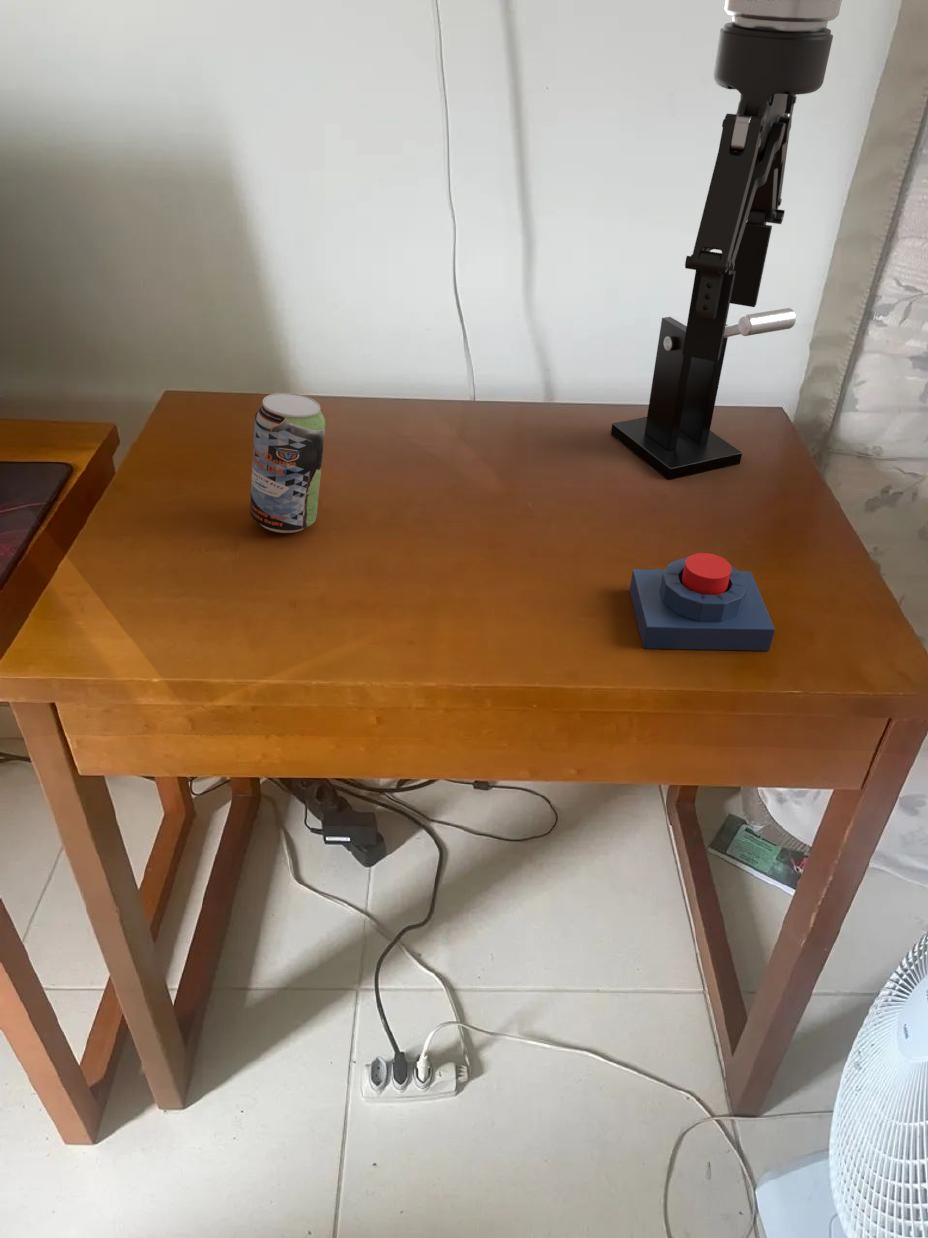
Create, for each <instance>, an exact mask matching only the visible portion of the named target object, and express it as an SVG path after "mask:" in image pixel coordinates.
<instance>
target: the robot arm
mask: <svg viewBox="0 0 928 1238" xmlns="http://www.w3.org/2000/svg"><path fill="white" fill-rule="evenodd" d="M842 1H843V0H725V2H724V7H723V9H724V11H725V12H726V14H727V15H728V16H732V17H731V22H726V23H724V24H723V27H721V28H720V29H719V35H718V41H717V48H716V54H715V60H714V67H713V75H712V77H713V81H714V82H715V84H716V85H717V86H719V87H721V88H723V89H726V90H736V91H737V92H738V93H739V94H740V96H739V98H740V100H739V102H738V105H737V109H736V112H735V113H726V114H725V116H724V119H723V120H722V124H721V127H722V129H721V135H720V141H719V146H718V152H717V155H716V159H715V163H714V166H713V170H712V175H711V178H710V183H709V187H708V191H707V195H706V199H705V203H704V206H703V211H702V214H701V220H700V223H699V227H698V231H697V235H696V240H695V242H694V247H693V251H692V254H690V255H686V257H685V262H684V268H685V269H687V270H694V271H695V272H694V279H693V286H692V292H691V297H690V304H689V311H688V316H687V321H686V322H687V323H686V326H687V327H686V334H685V340H684V346H683V352H682V355H683V356H689V357H694V358H699V359H705V360H710V361H715V362H717V361H718V360H719V358H720V353H721V348H722V342H723V337H724V332H725V326H726V324H727V320H728V315H729V311H730V305H731V304H732V305H738V306H744V307H749V308H755V307H756V305H757V303H758V297H759V294H760V288H761V283H762V278H763V273H764V268H765V263H766V258H767V254H768V250H769V249H768V248H769V244H770V238H771V234H772V229H773V225H770V224H775V225H782V223H783V221H784V216H785V211H786V210H784V209H779V207H780V206H781V205H782V200H783V199H782V193H783V183H784V178H785V177H784V176H785V171H786V161H787V154H788V145H789V137H790V131H791V129H792V120H793V118H792V117H793V112H794V109H795V108H794V107H795V104H796V102H797V98H798V97H797V96H798V95H806V94H807V95H808V94H811V93H815V92H817V91H818V90H819V89H820V88H822V86H823V84H824V81H825V77H826V71H827V67H828V62H829V57H830V54H831V53H830V52H831V48H832V44H833V39H834V35H833V34H832V30H831V29H829V28H828V22H831V21H834V20H835V19H836V18H837V17H838V16H840V11H841V7H842ZM767 223H768V224H767ZM712 250H717V251H721V252H716V251H712Z"/></svg>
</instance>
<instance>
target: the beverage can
mask: <svg viewBox="0 0 928 1238" xmlns="http://www.w3.org/2000/svg"><path fill="white" fill-rule="evenodd" d="M325 433H326V419H325V416H324V414H323V413H322V411H321V405H320V403H319V402H318V401H317V400H315V399H313V398H311V397H309V396H306V395H303V394H299V393H293V392H292V393H291V392H277V393H271V394H269V395H266V396H264V398H263V399H262V404H261V405H260V406H259V407H258V408H257V410H256V412H255V414H254V425H253V444H252V462H251V463H252V464H251V479H250V480H251V483H250V484H251V485H250V499H249V500H250V501H249V514H250V516H251V517H250V518H252V519H253V520H254V521H255V522H256V523H258V524H259V525H260V526H261V527H263V528H264V529H266V530H268V531H271V532H273V533H274V532H275V533H280V534H281V533H282V534H292V533H297V532H300V531H303V530H305V529H306V528H308V527H311V526H312V525H313V524H315V522H316V520H317V517H318V507H319V496H320V485H321V475H322V466H323V465H322V463H323V454H324V444H325Z"/></svg>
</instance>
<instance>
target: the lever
mask: <svg viewBox="0 0 928 1238" xmlns="http://www.w3.org/2000/svg"><path fill="white" fill-rule="evenodd" d="M796 320H797V318H796V312H795V311H794V310H793V308H791V307H786V308H785V307H784V308H780V309H772V310H766V311H761V312H754V313H748V314H743V315H741V316H740V317H739V319H738V321H737V322H735V323H732V324H727V326H725V332H724V337H723V338H726V337H728V338H730V337H734V336H739V335H741V336H743V337H749V336H755V335H760V334H761V335H762V334H765V333H773V332H778V331H784V330H790V329H792V328H793V327H794V326H795V324H796Z"/></svg>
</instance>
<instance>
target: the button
mask: <svg viewBox="0 0 928 1238" xmlns="http://www.w3.org/2000/svg"><path fill="white" fill-rule="evenodd" d="M687 557H688V558H687V559H686V561H685V565H684V570H683V576H682V583H683V585H684V586H685V587H686V588H687V589H689V590H690V591H693V592H696V593H699V594H702V595H719V594H722V593H724V592H725V591H726V590H727V587H728V583H729V578H730V574H731V566H732V565H731V563H729V561H728V560H727V559H726V558H723V557H722V556H719V555H718V554H713V553H708V552H698V553H694V554H691V555H689V556H687Z"/></svg>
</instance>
